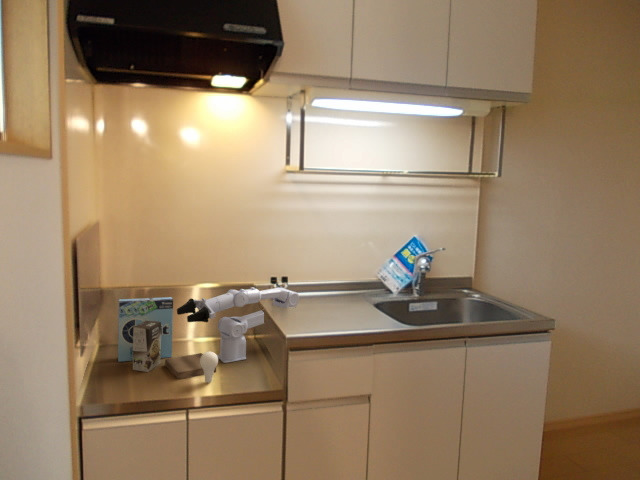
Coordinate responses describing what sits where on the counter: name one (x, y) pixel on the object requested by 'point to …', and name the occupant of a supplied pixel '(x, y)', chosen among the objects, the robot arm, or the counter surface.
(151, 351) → the coffee box
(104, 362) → the counter surface
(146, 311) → the light blue product box
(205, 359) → the lightbulb
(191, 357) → the walnut base
